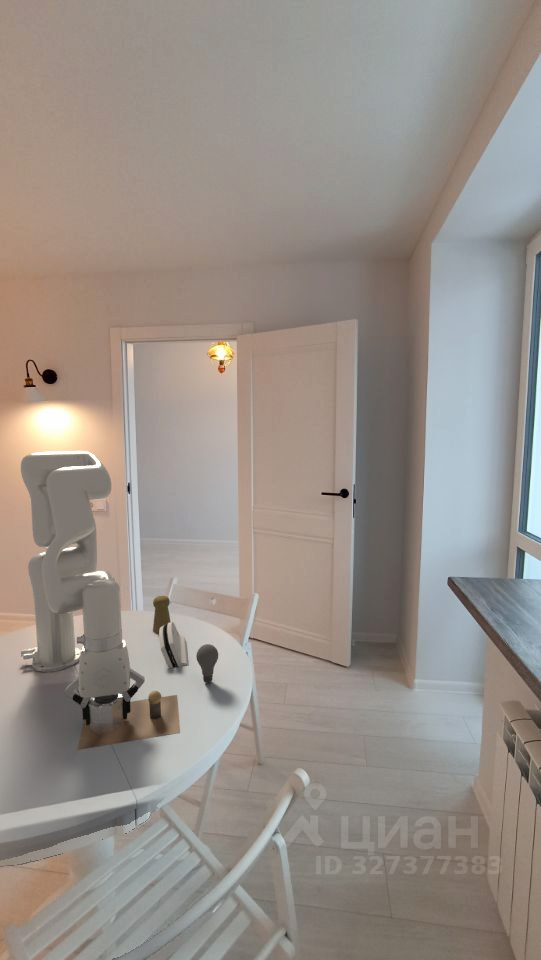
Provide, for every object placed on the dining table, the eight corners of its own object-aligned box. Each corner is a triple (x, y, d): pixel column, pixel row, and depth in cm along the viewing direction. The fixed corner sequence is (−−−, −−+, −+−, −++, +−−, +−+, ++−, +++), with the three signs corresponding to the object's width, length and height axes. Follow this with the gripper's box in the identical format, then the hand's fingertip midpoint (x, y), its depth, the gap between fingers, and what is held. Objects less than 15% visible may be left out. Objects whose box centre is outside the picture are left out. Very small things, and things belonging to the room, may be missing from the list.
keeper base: (77, 756, 89) (75, 722, 88) (88, 714, 103) (86, 684, 102) (180, 739, 94) (179, 707, 93) (177, 700, 108) (176, 672, 107)
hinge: (189, 670, 121) (175, 638, 120) (172, 677, 121) (158, 645, 119) (186, 641, 138) (174, 613, 136) (171, 648, 137) (159, 620, 135)
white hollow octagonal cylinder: (88, 736, 93) (87, 709, 92) (93, 716, 99) (91, 690, 99) (123, 730, 95) (121, 704, 94) (125, 711, 101) (124, 686, 100)
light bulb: (221, 686, 114) (220, 648, 113) (199, 690, 112) (198, 652, 111) (216, 674, 119) (215, 638, 118) (195, 679, 117) (194, 642, 116)
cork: (149, 633, 144) (148, 600, 143) (157, 625, 150) (156, 593, 149) (167, 634, 143) (166, 601, 142) (174, 626, 149) (173, 594, 148)
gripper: (55, 653, 89) (60, 736, 91) (145, 642, 93) (148, 722, 95) (62, 636, 96) (67, 714, 98) (146, 627, 101) (149, 702, 103)
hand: (107, 717), depth 97 cm, fingers closed on white hollow octagonal cylinder, 6 cm apart
